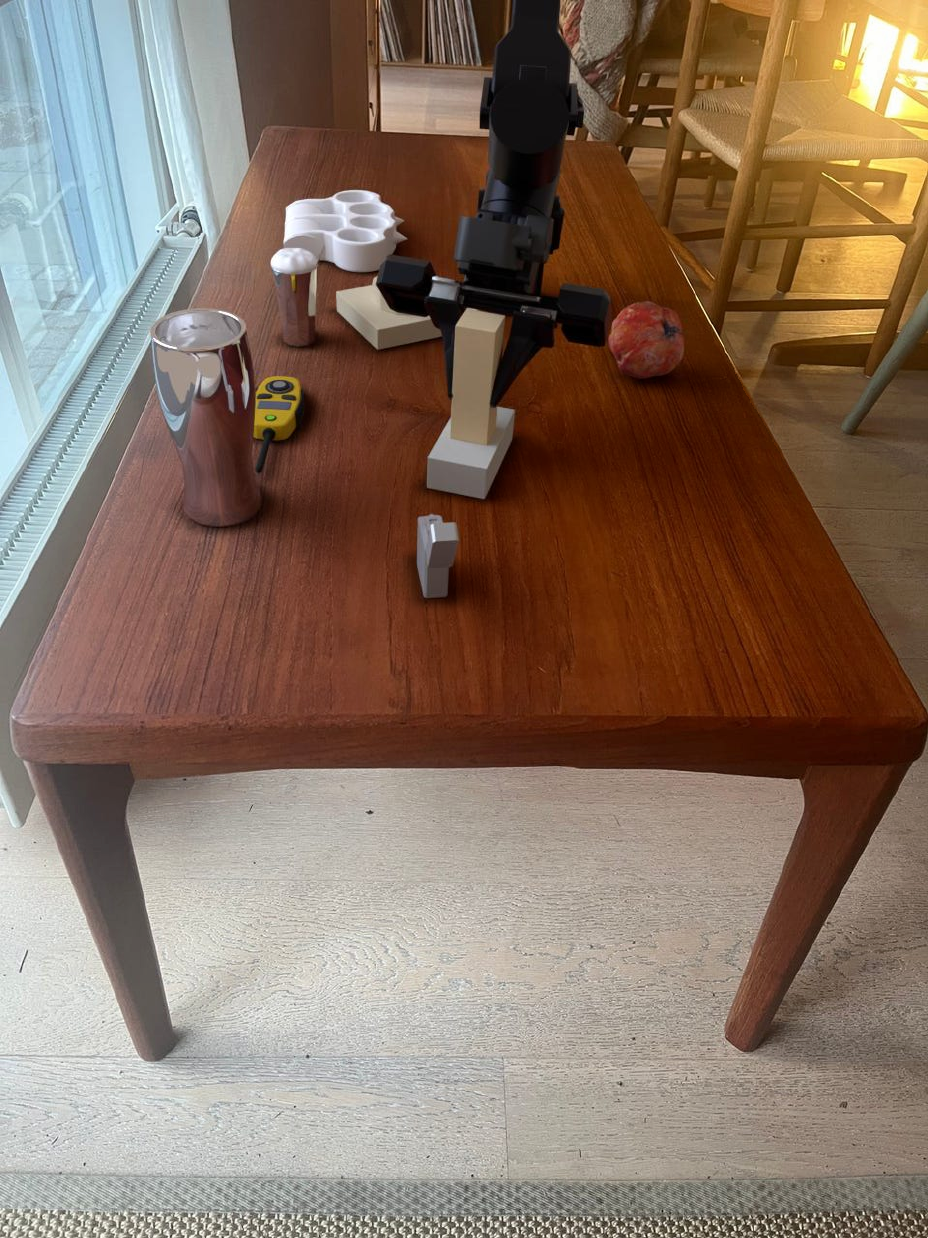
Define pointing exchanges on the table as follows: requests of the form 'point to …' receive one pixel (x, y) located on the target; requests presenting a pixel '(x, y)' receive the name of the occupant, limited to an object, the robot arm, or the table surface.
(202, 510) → the beer glass
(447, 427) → the stamp
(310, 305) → the milkshake
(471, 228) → the robot arm
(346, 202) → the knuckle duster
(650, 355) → the pomegranate
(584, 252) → the table surface
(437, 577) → the lighter
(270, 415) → the remote control
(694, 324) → the table surface
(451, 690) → the table surface
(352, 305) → the bell stand
